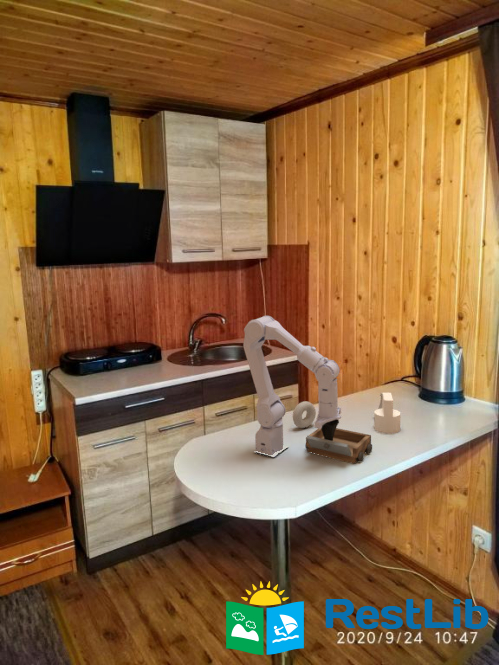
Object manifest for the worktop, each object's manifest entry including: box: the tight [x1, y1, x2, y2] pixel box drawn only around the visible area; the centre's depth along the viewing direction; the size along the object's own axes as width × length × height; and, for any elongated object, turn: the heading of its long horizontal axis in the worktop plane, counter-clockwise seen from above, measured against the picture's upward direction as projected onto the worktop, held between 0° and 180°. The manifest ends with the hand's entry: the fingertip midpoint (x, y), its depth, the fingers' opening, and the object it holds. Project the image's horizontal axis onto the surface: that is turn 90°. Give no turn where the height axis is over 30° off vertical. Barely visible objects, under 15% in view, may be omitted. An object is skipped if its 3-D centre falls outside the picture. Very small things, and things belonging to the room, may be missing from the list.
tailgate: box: [306, 435, 352, 456], centre depth 148 cm, size 2×14×5 cm
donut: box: [292, 400, 317, 429], centre depth 175 cm, size 10×4×10 cm, turn 124°
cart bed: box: [305, 427, 373, 465], centre depth 155 cm, size 12×19×5 cm, turn 55°
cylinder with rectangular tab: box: [373, 392, 401, 434], centre depth 171 cm, size 9×9×12 cm
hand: (328, 442), depth 148 cm, fingers closed, pressing on tailgate
